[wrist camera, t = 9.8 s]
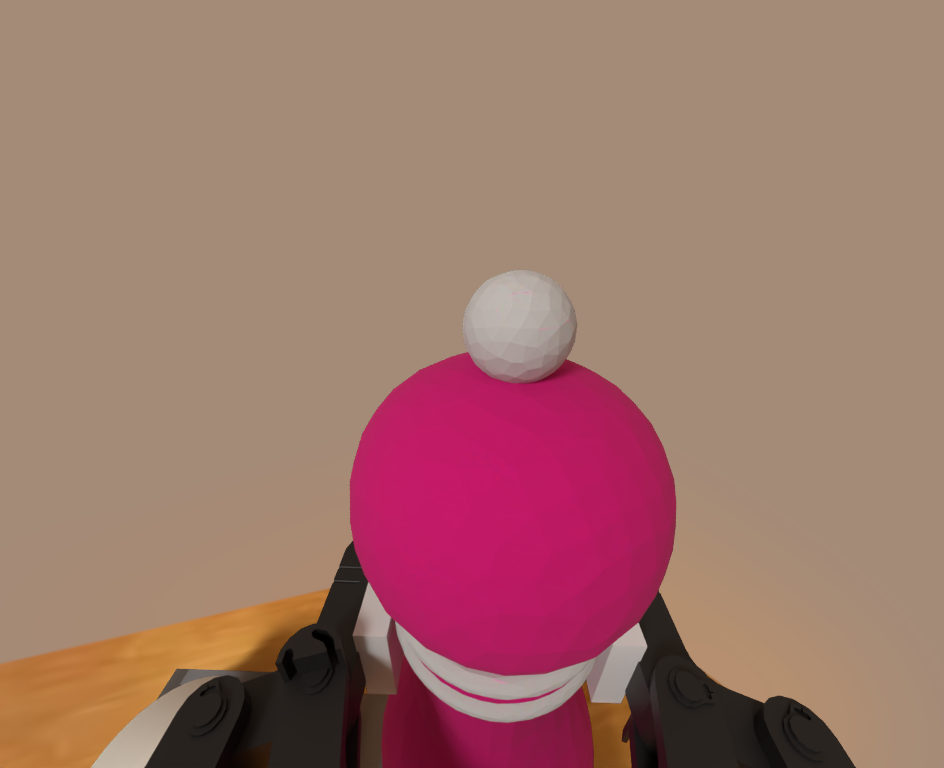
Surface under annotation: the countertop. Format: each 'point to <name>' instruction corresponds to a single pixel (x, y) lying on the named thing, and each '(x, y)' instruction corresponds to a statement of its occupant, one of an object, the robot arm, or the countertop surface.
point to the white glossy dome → (146, 730)
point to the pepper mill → (507, 535)
